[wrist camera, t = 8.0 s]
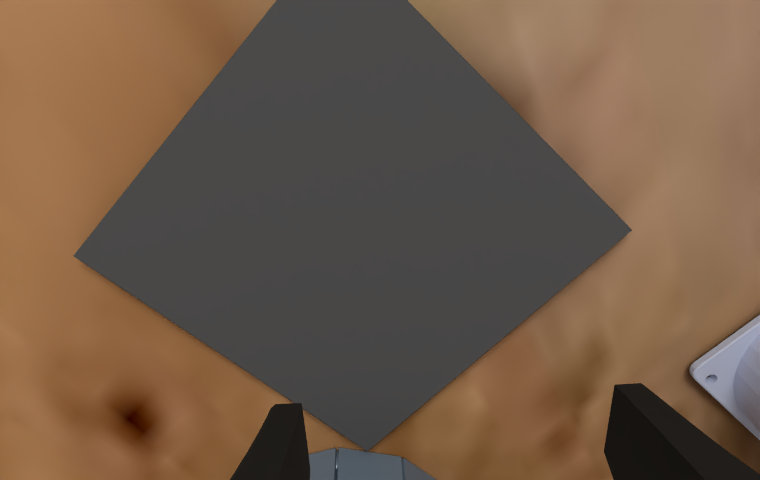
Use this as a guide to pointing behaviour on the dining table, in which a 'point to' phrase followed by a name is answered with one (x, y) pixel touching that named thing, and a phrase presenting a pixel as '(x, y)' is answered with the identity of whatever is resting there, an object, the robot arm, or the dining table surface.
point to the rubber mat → (351, 214)
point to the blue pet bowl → (362, 466)
